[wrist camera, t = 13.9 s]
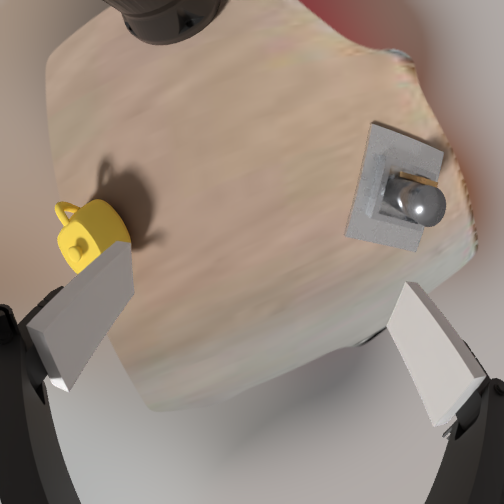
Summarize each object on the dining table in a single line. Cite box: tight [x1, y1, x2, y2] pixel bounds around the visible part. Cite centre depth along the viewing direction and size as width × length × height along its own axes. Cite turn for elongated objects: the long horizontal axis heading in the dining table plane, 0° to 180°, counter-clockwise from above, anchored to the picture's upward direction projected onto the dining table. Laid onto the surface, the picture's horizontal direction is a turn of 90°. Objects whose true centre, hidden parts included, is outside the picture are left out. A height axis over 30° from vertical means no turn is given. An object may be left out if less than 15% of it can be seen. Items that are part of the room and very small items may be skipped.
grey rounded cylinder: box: [385, 172, 446, 227], centre depth 34 cm, size 5×6×10 cm
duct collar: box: [344, 124, 444, 252], centre depth 38 cm, size 18×14×4 cm
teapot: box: [55, 199, 131, 274], centre depth 40 cm, size 18×11×11 cm, turn 29°
